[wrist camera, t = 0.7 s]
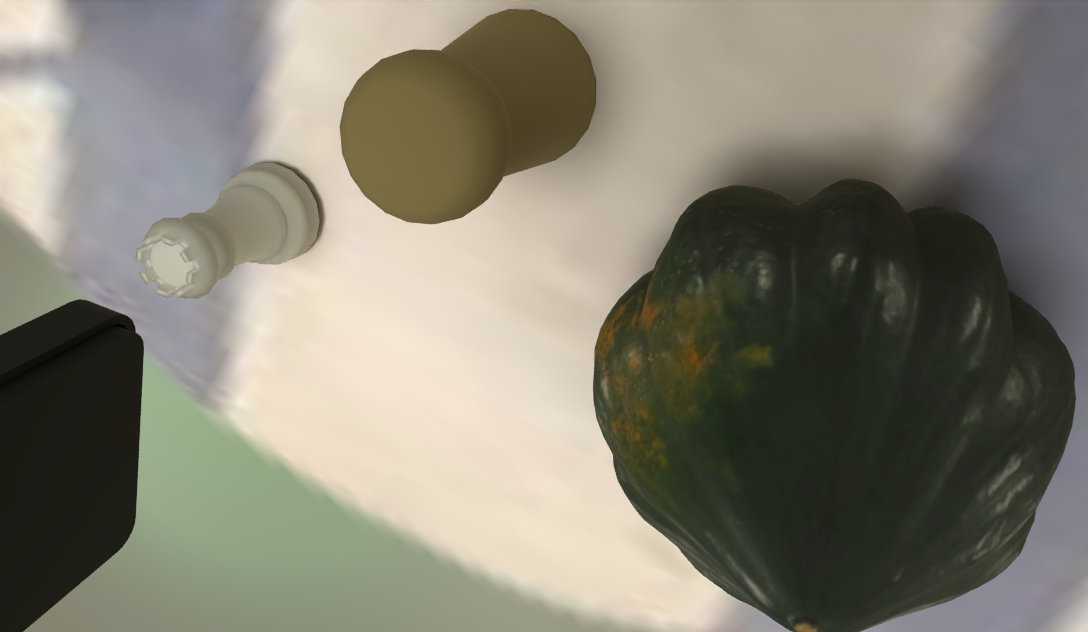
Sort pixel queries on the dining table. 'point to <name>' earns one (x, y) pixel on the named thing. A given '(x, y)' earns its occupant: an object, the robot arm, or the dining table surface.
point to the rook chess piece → (232, 232)
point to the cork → (466, 115)
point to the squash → (833, 403)
